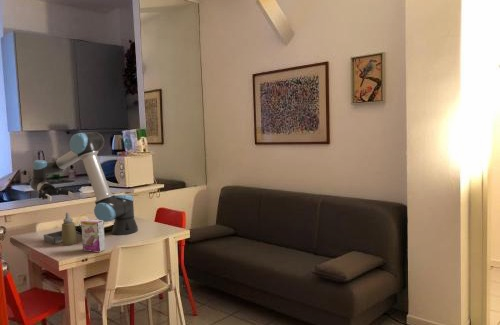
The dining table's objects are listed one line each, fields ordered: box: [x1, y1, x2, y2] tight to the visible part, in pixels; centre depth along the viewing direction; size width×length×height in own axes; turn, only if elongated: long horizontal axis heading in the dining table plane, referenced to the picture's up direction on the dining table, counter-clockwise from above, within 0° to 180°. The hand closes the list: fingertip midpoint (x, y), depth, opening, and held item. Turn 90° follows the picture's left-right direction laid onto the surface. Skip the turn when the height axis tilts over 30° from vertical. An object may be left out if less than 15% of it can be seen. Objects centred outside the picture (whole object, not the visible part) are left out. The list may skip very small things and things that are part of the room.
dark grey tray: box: [43, 230, 63, 245], centre depth 248 cm, size 13×13×4 cm
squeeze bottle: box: [61, 212, 78, 246], centre depth 239 cm, size 8×8×18 cm
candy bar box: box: [80, 219, 106, 252], centre depth 225 cm, size 11×5×16 cm, turn 71°
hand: (62, 197), depth 243 cm, fingers open, 13 cm apart
